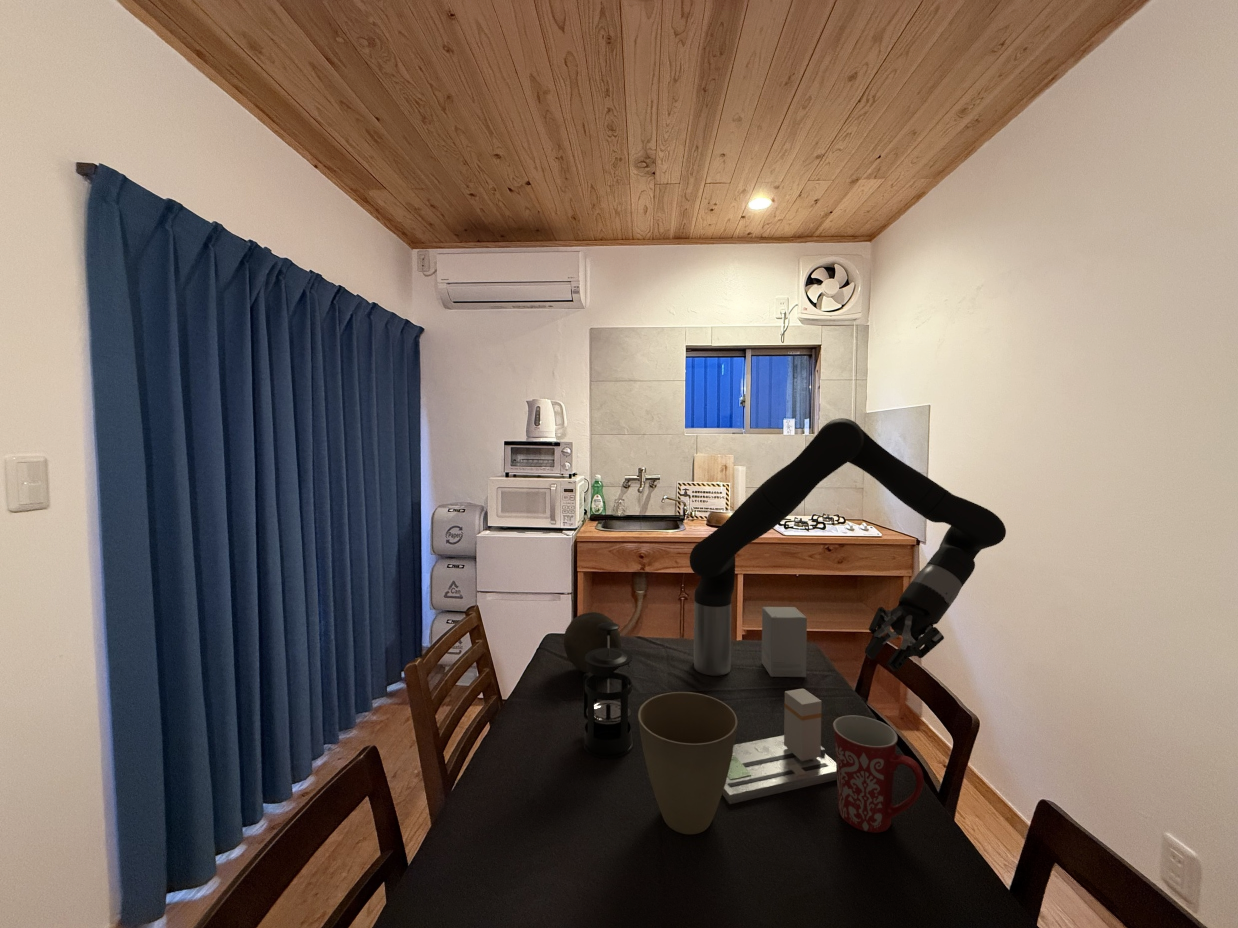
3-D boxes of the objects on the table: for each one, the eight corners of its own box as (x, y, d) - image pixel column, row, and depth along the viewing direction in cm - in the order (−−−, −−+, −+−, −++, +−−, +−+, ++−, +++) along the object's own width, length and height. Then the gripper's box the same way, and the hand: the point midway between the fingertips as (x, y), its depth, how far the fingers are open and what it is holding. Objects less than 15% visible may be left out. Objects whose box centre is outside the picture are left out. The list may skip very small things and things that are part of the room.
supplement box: (807, 677, 126) (808, 617, 126) (770, 677, 127) (771, 617, 126) (795, 662, 136) (795, 606, 135) (760, 662, 136) (761, 605, 135)
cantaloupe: (571, 660, 136) (571, 604, 136) (624, 663, 134) (624, 606, 134) (557, 684, 122) (557, 622, 122) (616, 688, 120) (616, 625, 120)
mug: (819, 812, 80) (821, 726, 79) (849, 788, 85) (850, 708, 85) (906, 864, 70) (908, 766, 69) (933, 833, 76) (935, 742, 75)
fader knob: (783, 744, 94) (784, 691, 94) (802, 741, 96) (803, 688, 95) (801, 760, 90) (802, 704, 89) (821, 756, 91) (821, 701, 90)
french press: (645, 746, 97) (646, 625, 97) (608, 767, 91) (609, 638, 90) (604, 721, 106) (604, 611, 105) (567, 739, 99) (568, 621, 99)
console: (696, 759, 93) (696, 746, 93) (799, 739, 100) (799, 727, 99) (729, 804, 82) (729, 788, 81) (843, 777, 88) (844, 763, 88)
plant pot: (637, 784, 86) (637, 690, 86) (726, 786, 86) (727, 692, 85) (637, 854, 71) (638, 741, 71) (745, 857, 71) (747, 744, 70)
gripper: (890, 572, 106) (841, 636, 103) (954, 591, 93) (899, 665, 89) (910, 595, 108) (862, 659, 105) (975, 617, 94) (922, 691, 91)
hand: (879, 661), depth 97 cm, fingers open, 5 cm apart
